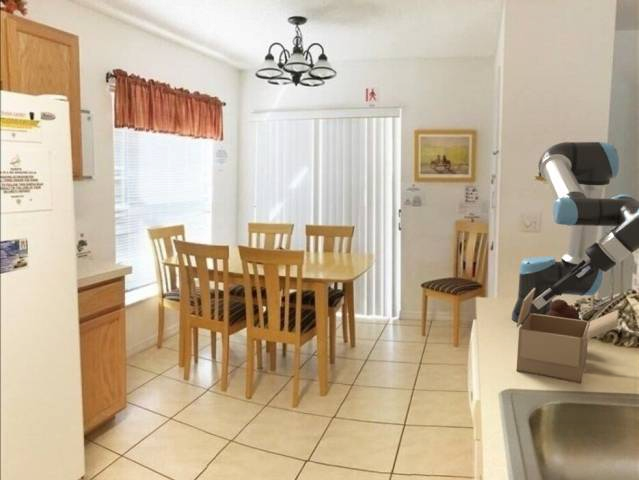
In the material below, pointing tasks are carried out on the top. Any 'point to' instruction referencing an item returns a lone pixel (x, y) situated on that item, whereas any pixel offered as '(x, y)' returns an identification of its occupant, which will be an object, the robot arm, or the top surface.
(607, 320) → the carton flap
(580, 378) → the carton
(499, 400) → the top surface
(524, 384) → the top surface
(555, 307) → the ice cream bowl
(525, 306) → the carton flap
